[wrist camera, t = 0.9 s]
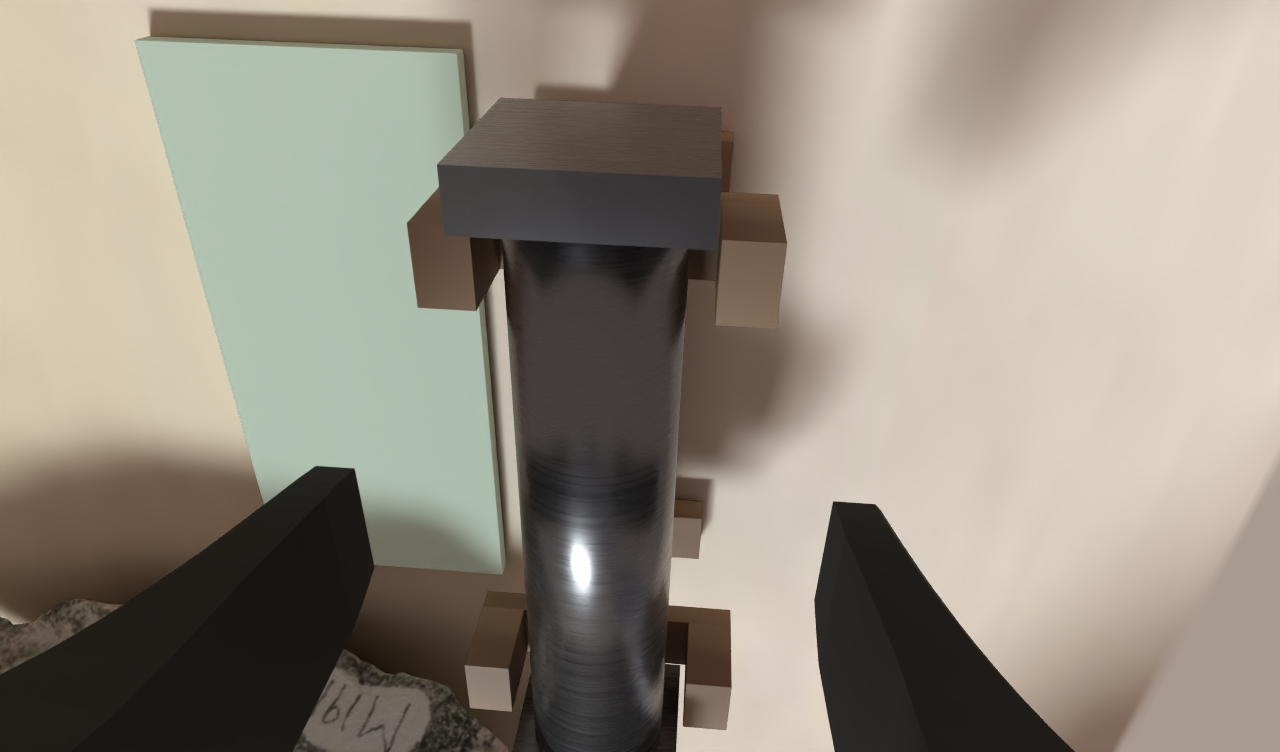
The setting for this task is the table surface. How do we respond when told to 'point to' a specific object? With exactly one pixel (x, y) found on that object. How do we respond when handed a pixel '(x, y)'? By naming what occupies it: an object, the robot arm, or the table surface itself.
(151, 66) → the mat
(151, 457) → the table surface
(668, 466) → the column with square cap
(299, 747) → the rock
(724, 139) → the rail stand
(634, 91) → the table surface
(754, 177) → the table surface
